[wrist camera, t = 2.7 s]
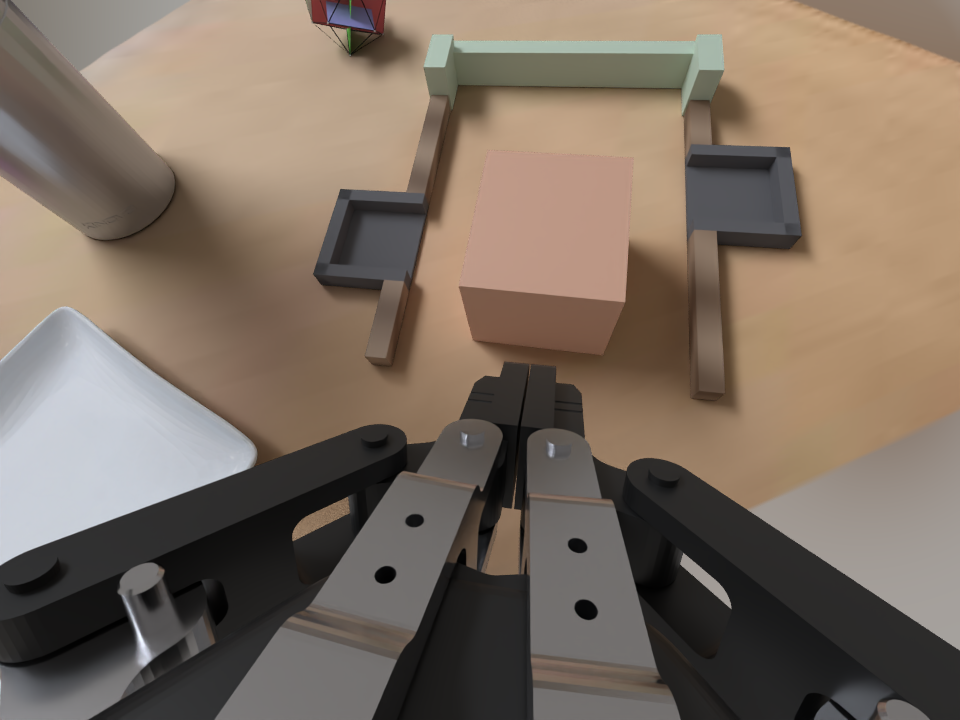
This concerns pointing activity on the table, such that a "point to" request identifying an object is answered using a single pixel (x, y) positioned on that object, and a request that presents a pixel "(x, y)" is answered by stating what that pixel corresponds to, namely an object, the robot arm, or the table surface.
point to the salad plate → (96, 435)
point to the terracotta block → (548, 250)
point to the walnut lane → (699, 258)
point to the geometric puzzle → (349, 15)
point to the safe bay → (577, 65)
